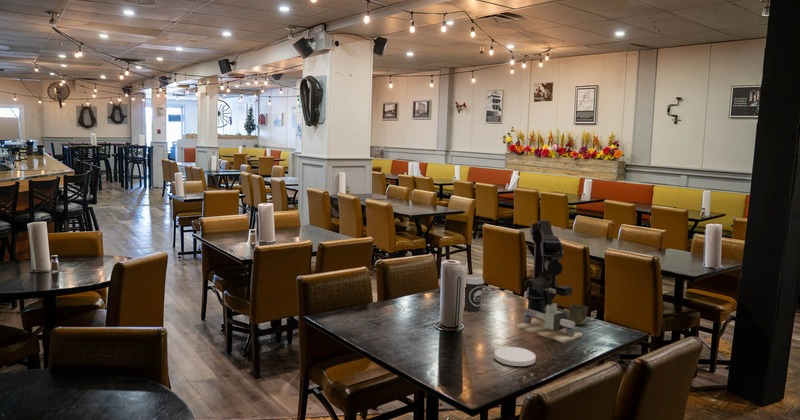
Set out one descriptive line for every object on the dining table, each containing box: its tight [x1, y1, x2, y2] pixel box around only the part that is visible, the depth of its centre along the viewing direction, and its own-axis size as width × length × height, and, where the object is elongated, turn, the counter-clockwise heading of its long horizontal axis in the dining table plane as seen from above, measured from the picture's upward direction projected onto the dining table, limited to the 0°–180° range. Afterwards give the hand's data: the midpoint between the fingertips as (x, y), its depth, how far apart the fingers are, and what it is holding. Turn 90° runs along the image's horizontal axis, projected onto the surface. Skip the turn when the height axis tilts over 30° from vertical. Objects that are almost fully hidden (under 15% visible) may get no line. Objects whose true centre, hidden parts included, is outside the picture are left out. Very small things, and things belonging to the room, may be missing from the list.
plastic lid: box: [493, 346, 537, 367], centre depth 199 cm, size 14×14×2 cm
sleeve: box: [544, 302, 563, 330], centre depth 228 cm, size 4×6×9 cm, turn 132°
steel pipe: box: [523, 307, 576, 337], centre depth 230 cm, size 22×3×6 cm, turn 42°
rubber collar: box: [553, 311, 568, 331], centre depth 226 cm, size 2×6×6 cm, turn 132°
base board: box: [514, 318, 583, 344], centre depth 231 cm, size 23×13×1 cm, turn 42°
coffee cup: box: [464, 274, 485, 313], centre depth 257 cm, size 10×10×15 cm
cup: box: [569, 303, 589, 327], centre depth 240 cm, size 8×7×8 cm
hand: (547, 307), depth 230 cm, fingers closed
